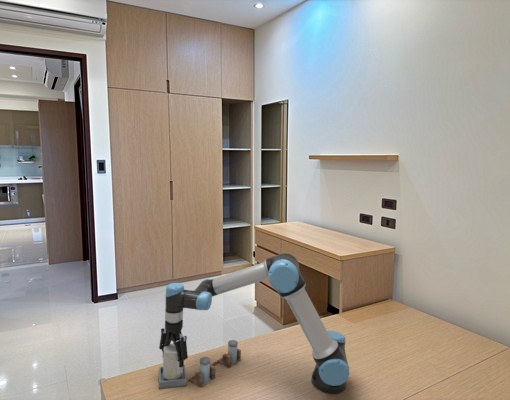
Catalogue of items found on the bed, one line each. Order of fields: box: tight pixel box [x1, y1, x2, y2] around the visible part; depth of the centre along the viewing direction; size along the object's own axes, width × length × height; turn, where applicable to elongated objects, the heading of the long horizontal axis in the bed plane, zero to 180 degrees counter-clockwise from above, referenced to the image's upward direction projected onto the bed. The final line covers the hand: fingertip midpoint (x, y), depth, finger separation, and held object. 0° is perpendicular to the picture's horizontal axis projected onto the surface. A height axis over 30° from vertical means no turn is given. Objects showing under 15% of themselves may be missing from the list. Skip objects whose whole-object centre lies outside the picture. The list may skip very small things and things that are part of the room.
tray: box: [158, 364, 187, 390], centre depth 153 cm, size 11×11×3 cm
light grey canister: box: [162, 343, 182, 380], centre depth 152 cm, size 8×8×12 cm
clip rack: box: [187, 348, 242, 388], centre depth 162 cm, size 8×28×5 cm, turn 145°
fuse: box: [227, 339, 238, 366], centre depth 169 cm, size 5×5×10 cm
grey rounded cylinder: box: [199, 356, 211, 385], centre depth 153 cm, size 5×5×10 cm
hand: (172, 369), depth 153 cm, fingers closed on light grey canister, 8 cm apart
